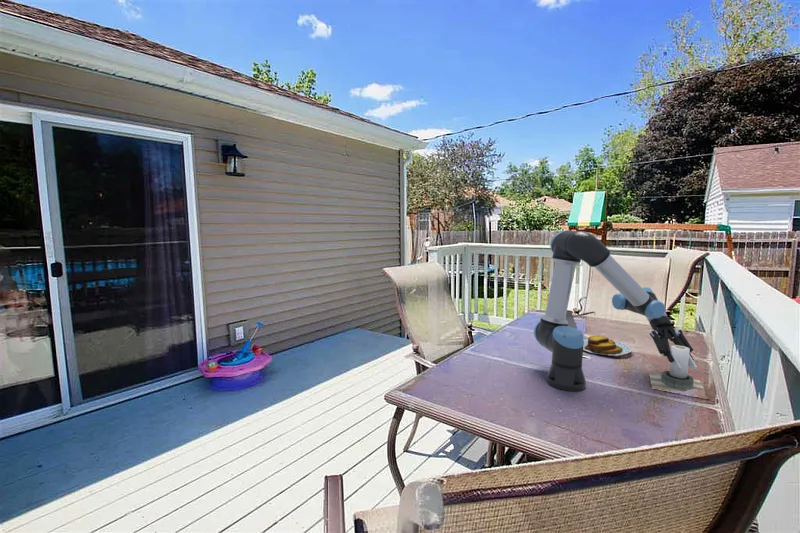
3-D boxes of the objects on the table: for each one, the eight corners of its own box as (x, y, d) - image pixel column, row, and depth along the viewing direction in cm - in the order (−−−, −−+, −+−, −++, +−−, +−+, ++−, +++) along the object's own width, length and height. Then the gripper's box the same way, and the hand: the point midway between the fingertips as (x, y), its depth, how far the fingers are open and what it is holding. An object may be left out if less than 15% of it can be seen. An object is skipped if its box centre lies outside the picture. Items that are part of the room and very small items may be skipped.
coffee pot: (554, 331, 229) (555, 308, 228) (560, 327, 238) (561, 305, 236) (591, 338, 216) (593, 313, 214) (596, 333, 224) (597, 310, 223)
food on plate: (634, 362, 178) (635, 349, 178) (578, 354, 189) (578, 342, 189) (628, 346, 201) (629, 335, 200) (578, 340, 212) (578, 329, 211)
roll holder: (708, 400, 139) (709, 389, 139) (651, 389, 149) (652, 378, 148) (699, 382, 155) (700, 372, 154) (648, 373, 164) (649, 364, 163)
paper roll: (688, 379, 147) (690, 350, 146) (670, 376, 150) (672, 348, 149) (686, 374, 152) (688, 346, 151) (668, 371, 155) (670, 344, 154)
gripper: (672, 322, 165) (702, 372, 151) (633, 324, 164) (658, 373, 149) (683, 314, 159) (715, 364, 145) (642, 315, 158) (670, 366, 143)
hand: (686, 369), depth 147 cm, fingers closed on paper roll, 6 cm apart
